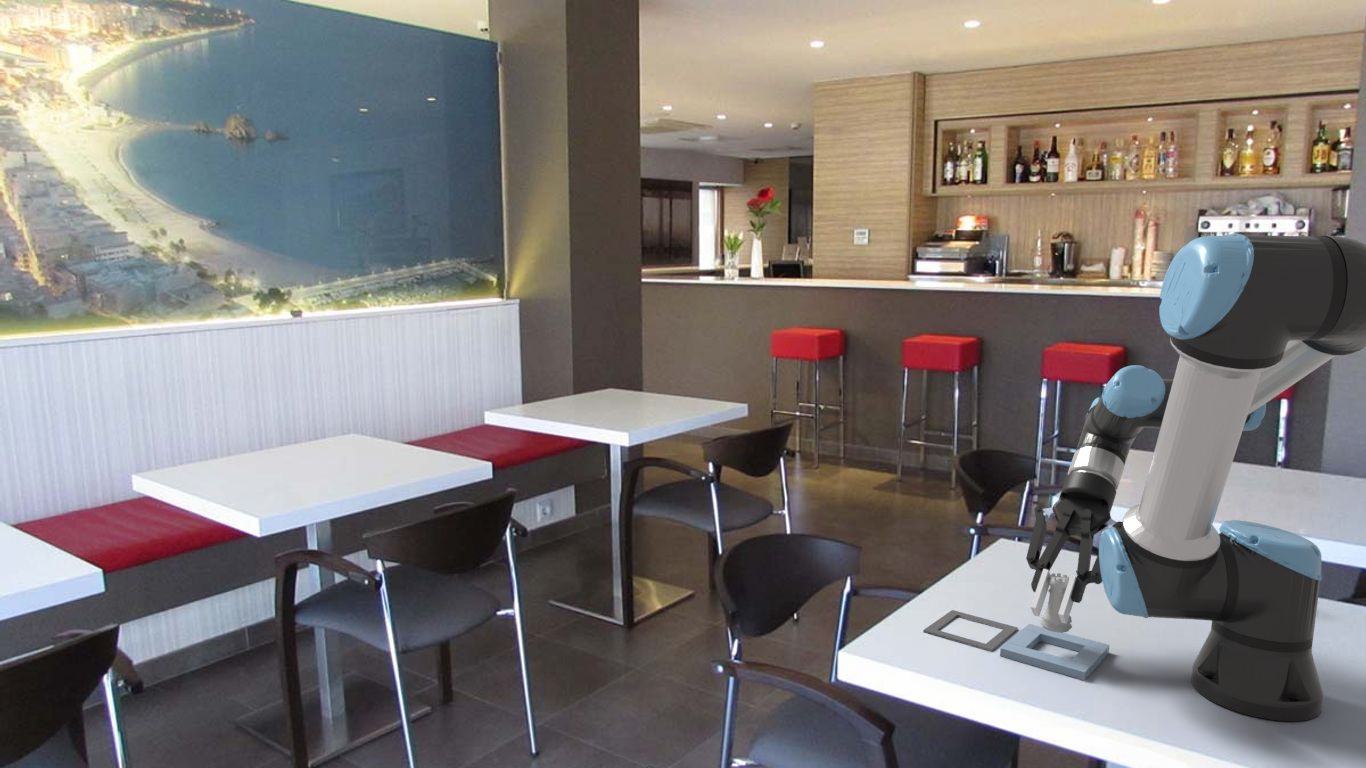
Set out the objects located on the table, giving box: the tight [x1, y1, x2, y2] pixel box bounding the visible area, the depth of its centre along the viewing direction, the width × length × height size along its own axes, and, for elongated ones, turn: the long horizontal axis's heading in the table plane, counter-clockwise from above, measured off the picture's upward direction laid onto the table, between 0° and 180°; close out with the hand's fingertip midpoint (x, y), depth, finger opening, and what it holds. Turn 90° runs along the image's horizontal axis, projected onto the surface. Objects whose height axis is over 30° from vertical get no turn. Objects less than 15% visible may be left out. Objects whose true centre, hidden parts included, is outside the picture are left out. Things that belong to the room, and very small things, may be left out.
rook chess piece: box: [1040, 572, 1073, 633], centre depth 137 cm, size 4×4×8 cm
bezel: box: [922, 609, 1019, 652], centre depth 146 cm, size 11×11×1 cm
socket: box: [999, 623, 1110, 681], centre depth 138 cm, size 12×12×1 cm
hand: (1048, 615), depth 134 cm, fingers closed on rook chess piece, 3 cm apart
